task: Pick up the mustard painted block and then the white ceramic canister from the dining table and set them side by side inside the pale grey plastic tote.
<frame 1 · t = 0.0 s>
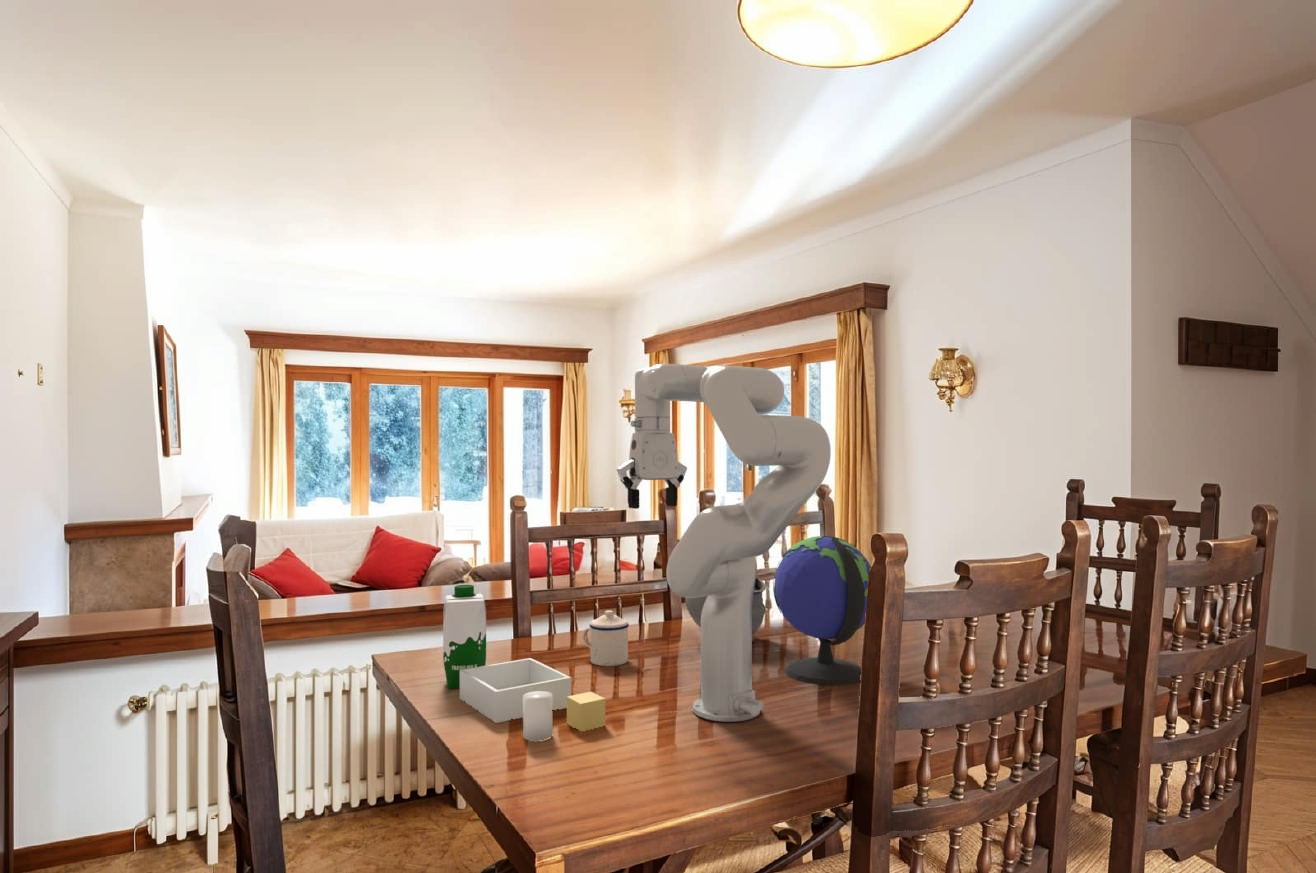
hand: (652, 507, 170), 37 cm above the table, tool pointing down, fingers open, 9 cm apart
mustard block: (586, 725, 143), on the table
globe: (825, 674, 176), on the table
milk carton: (464, 684, 169), on the table
pot: (725, 641, 205), on the table
tote: (514, 702, 156), on the table
teacup with lid: (604, 661, 186), on the table
white canister: (537, 736, 138), on the table
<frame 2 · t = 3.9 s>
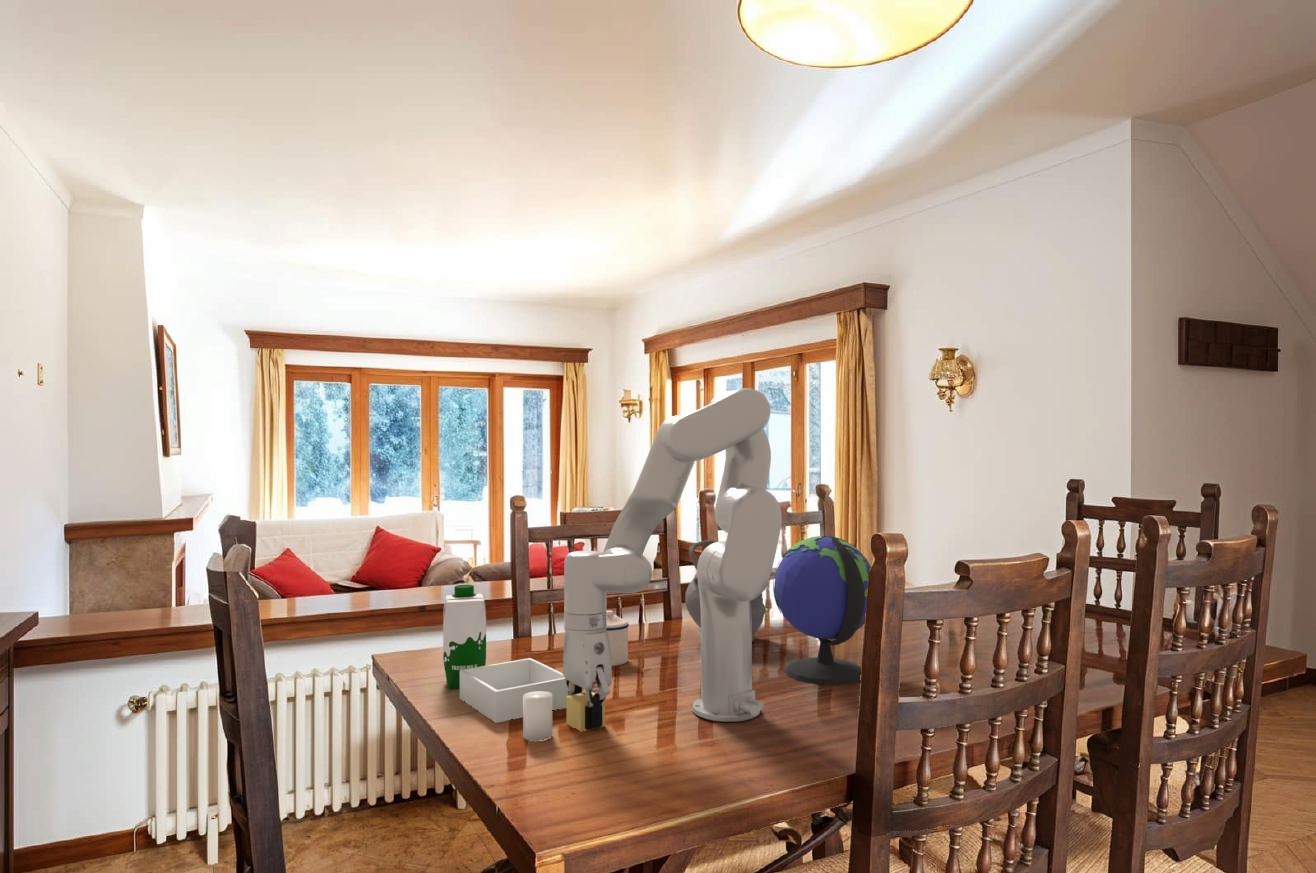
hand: (585, 722, 143), 0 cm above the table, tool pointing down, fingers closed on mustard block, 5 cm apart
mustard block: (585, 725, 143), on the table, touching gripper
everything else where it was.
when the fingers open (3 cm above the table, at t = 9.0 s): mustard block drops 2 cm, resting on tote.
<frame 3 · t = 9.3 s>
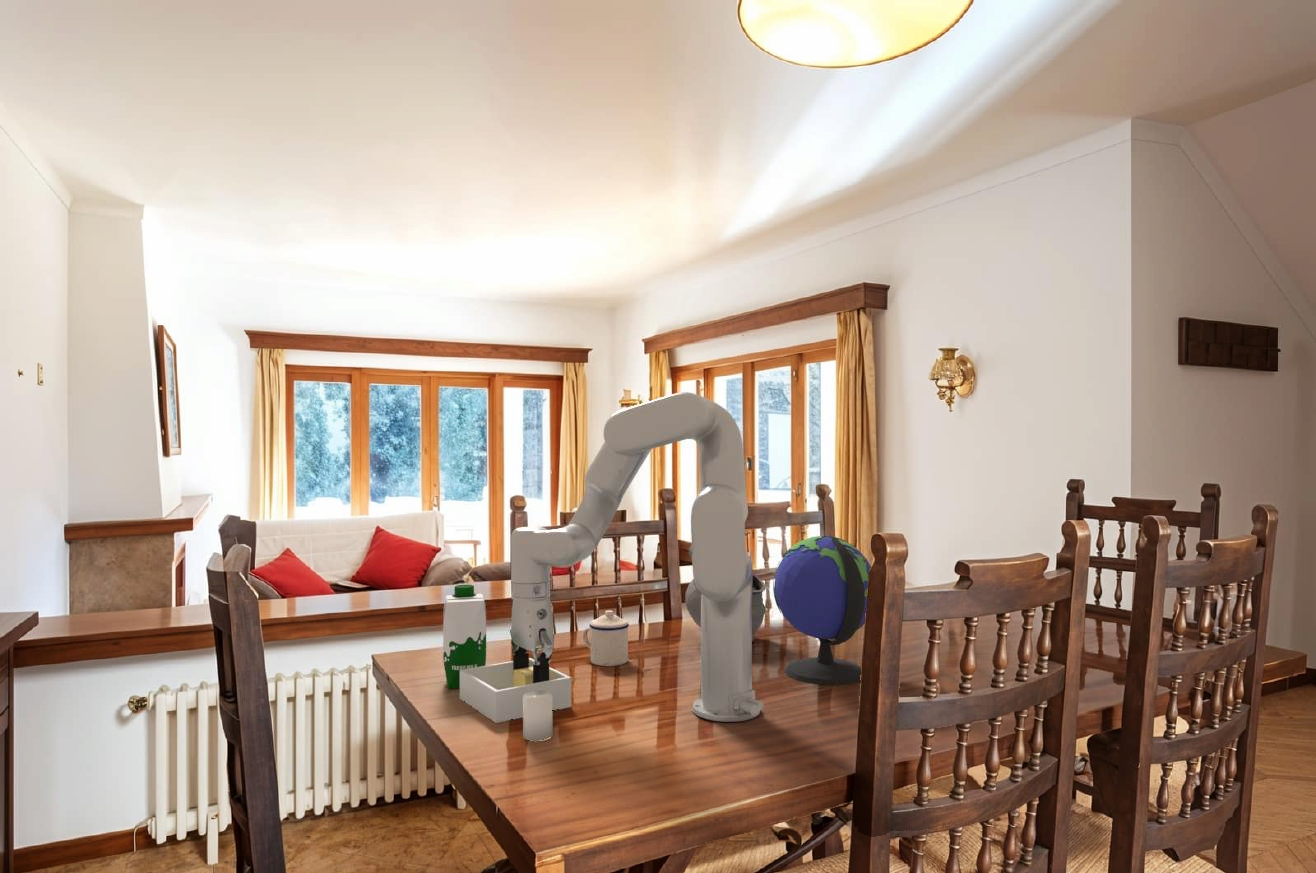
hand: (530, 678, 158), 4 cm above the table, tool pointing down, fingers open, 8 cm apart
mustard block: (530, 696, 158), point 1 cm above the table, touching tote
everything else where it was.
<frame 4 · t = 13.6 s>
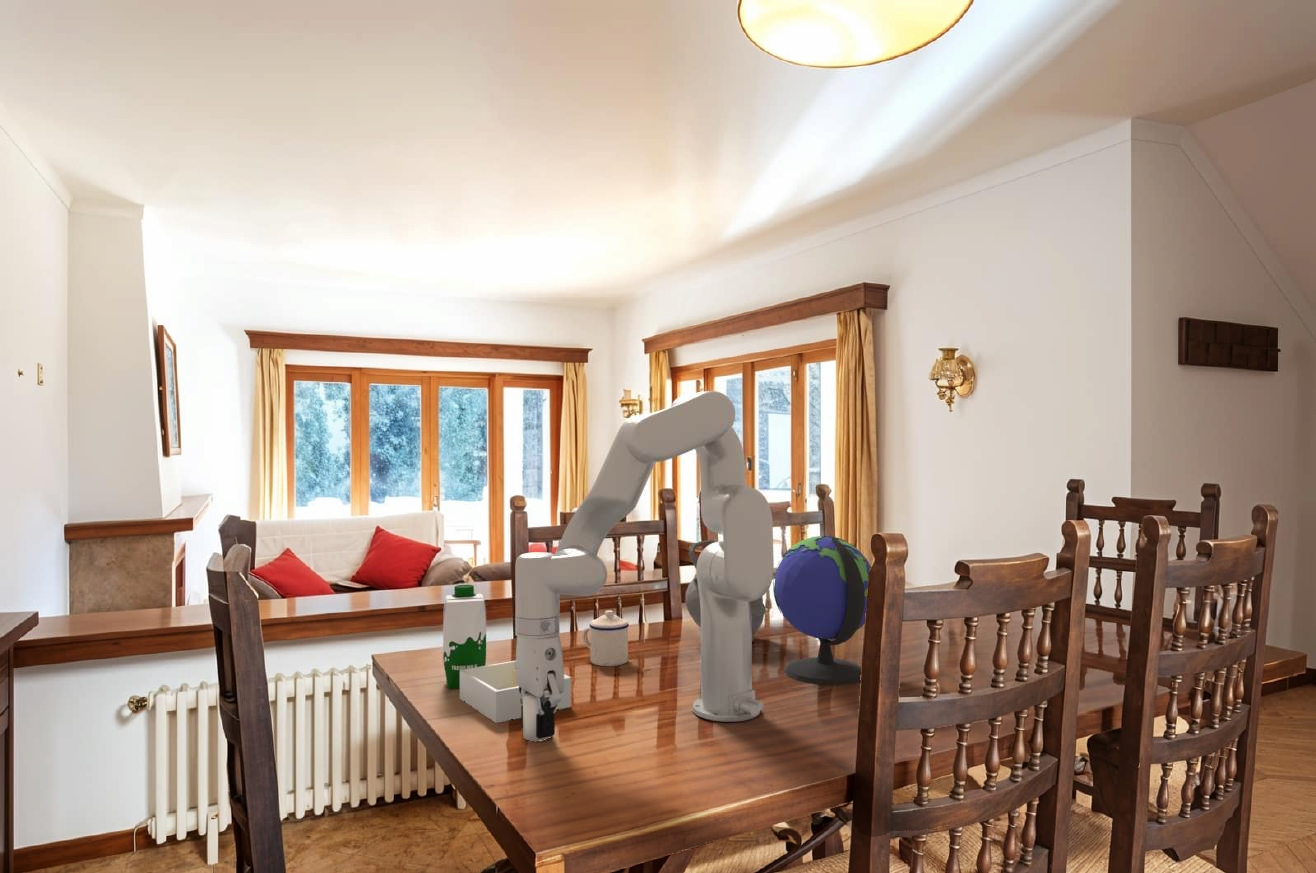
hand: (537, 730, 138), 1 cm above the table, tool pointing down, fingers closed on white canister, 5 cm apart
white canister: (537, 736, 138), on the table, touching gripper
everything else where it was.
when the fingers open (3 cm above the table, at t = 18.6 s): white canister drops 2 cm, resting on tote.
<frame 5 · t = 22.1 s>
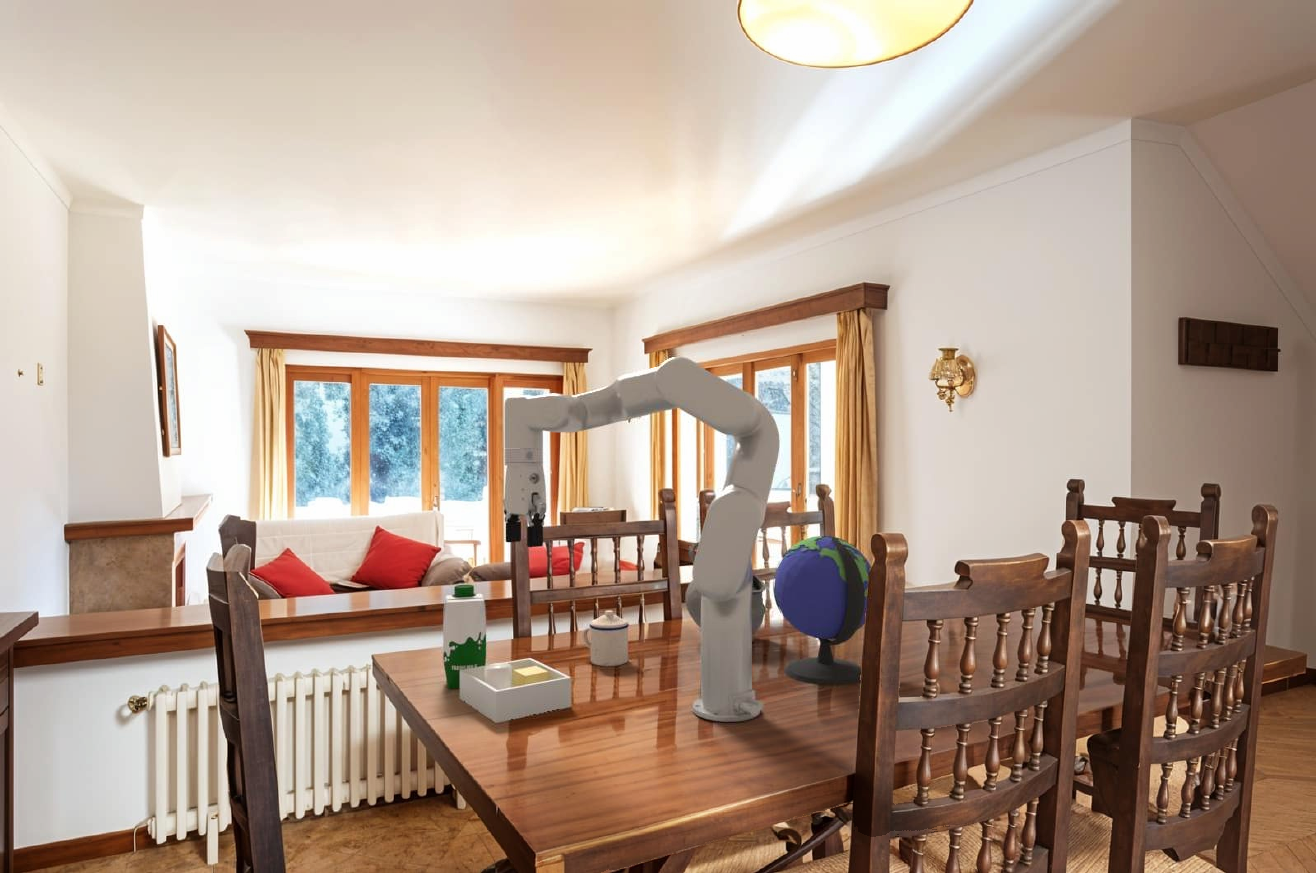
hand: (523, 544, 160), 30 cm above the table, tool pointing down, fingers open, 9 cm apart
white canister: (498, 703, 154), point 1 cm above the table, touching tote
everything else where it was.
at the end: mustard block inside the target area on the tote (3.5 cm from its centre), point 0.6 cm above the tote's base; white canister inside the target area on the tote (3.5 cm from its centre), point 0.6 cm above the tote's base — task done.
